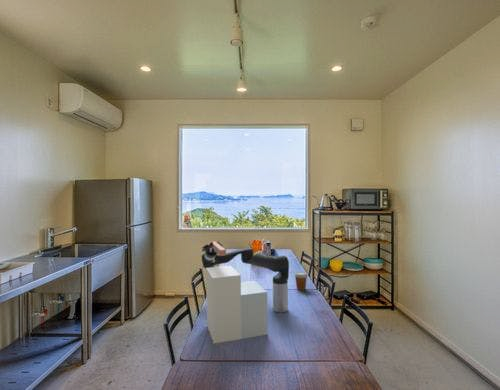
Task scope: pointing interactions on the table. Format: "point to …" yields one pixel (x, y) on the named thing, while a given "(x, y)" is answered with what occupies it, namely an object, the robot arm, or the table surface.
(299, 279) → the disposable coffee cup
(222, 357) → the table surface
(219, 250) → the rod
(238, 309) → the riser
